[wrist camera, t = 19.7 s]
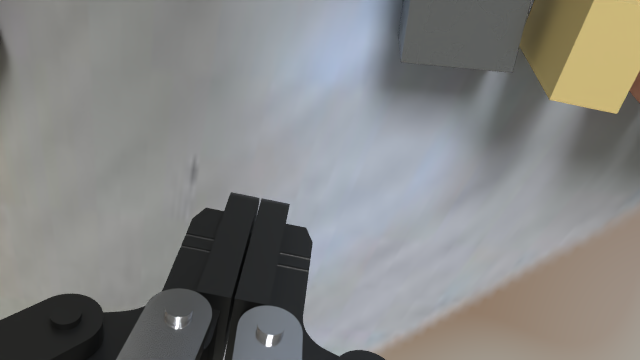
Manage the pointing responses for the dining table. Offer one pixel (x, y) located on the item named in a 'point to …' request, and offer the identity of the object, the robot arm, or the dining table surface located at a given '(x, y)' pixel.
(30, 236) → the dining table surface
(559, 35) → the tan rectangular block
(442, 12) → the grey squat square block
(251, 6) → the dining table surface
